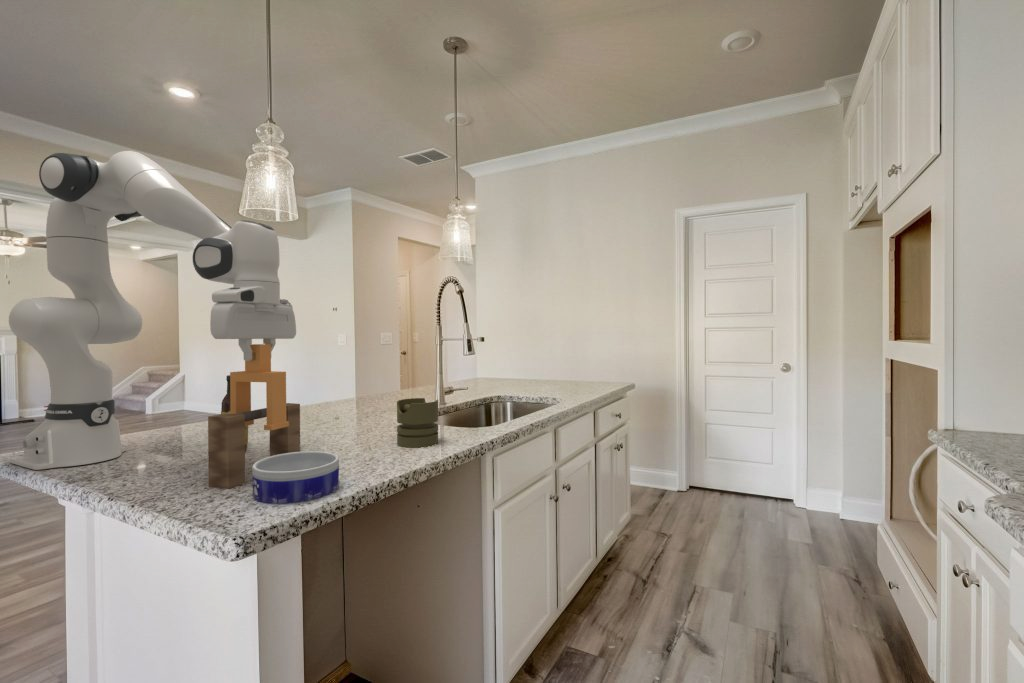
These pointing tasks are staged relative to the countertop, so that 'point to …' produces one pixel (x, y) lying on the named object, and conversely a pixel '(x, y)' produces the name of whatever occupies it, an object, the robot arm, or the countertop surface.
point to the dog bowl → (295, 477)
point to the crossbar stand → (230, 443)
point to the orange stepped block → (274, 388)
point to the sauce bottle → (227, 408)
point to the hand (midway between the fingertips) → (257, 360)
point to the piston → (417, 423)
